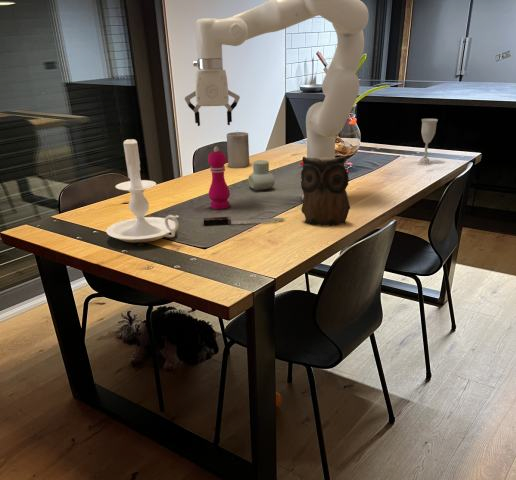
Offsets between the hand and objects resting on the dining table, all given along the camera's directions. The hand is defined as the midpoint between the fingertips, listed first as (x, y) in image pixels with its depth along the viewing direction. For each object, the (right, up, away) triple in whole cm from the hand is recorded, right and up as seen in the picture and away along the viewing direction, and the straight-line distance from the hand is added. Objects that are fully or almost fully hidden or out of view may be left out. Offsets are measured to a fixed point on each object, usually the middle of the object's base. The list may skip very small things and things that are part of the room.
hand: (213, 125), depth 173 cm
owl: (+36, -32, -3) cm, 48 cm away
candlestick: (-18, -40, -14) cm, 46 cm away
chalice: (+88, +9, +63) cm, 108 cm away
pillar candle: (+5, +10, +70) cm, 71 cm away
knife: (+10, -32, -3) cm, 34 cm away
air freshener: (+16, -11, +34) cm, 39 cm away
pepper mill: (+1, -23, +14) cm, 27 cm away
